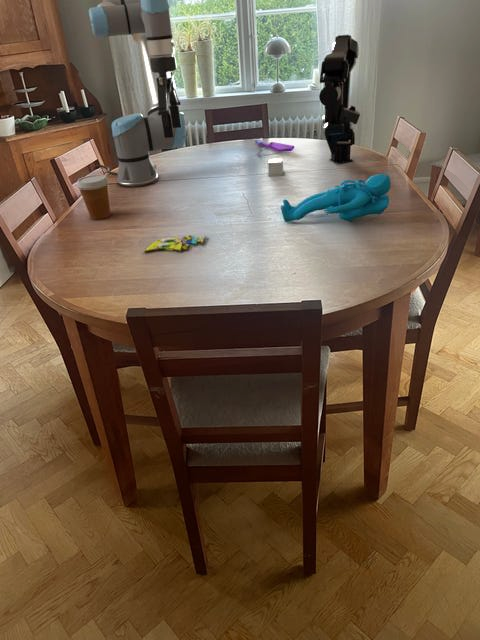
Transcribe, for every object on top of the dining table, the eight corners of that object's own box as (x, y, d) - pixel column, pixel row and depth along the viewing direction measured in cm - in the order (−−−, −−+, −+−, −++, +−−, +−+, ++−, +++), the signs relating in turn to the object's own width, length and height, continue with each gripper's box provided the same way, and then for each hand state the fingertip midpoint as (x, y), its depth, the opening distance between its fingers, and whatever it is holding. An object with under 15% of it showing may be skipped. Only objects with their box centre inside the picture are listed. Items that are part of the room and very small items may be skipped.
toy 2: (284, 188, 143) (387, 162, 133) (293, 221, 149) (393, 198, 138) (276, 209, 130) (390, 181, 120) (286, 244, 135) (397, 221, 125)
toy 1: (199, 248, 125) (143, 249, 127) (199, 251, 125) (144, 252, 127) (206, 233, 133) (154, 234, 135) (206, 236, 133) (154, 237, 136)
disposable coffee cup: (79, 220, 152) (69, 182, 146) (97, 209, 159) (88, 173, 153) (104, 222, 149) (94, 184, 142) (121, 211, 156) (113, 174, 150)
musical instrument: (281, 159, 196) (302, 141, 209) (280, 154, 195) (302, 136, 207) (233, 159, 209) (255, 142, 221) (232, 155, 208) (255, 137, 220)
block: (282, 175, 176) (282, 162, 174) (268, 176, 177) (268, 162, 174) (283, 171, 180) (282, 158, 178) (269, 172, 181) (268, 159, 178)
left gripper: (166, 59, 129) (178, 141, 141) (181, 51, 150) (190, 123, 162) (139, 61, 130) (153, 142, 142) (158, 53, 151) (169, 124, 162)
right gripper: (362, 104, 146) (359, 156, 154) (356, 94, 161) (354, 142, 170) (324, 106, 147) (324, 158, 156) (323, 96, 163) (322, 144, 171)
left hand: (173, 132), depth 152 cm, fingers open, 13 cm apart
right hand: (332, 150), depth 163 cm, fingers open, 9 cm apart
